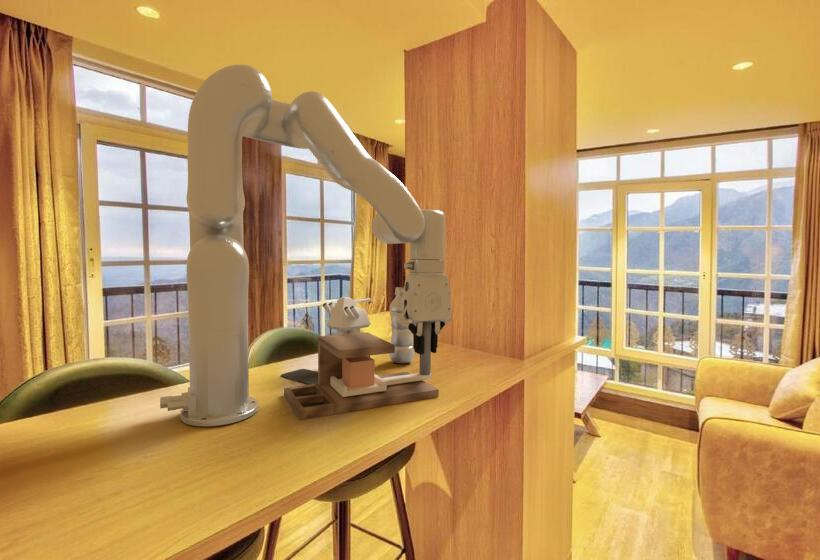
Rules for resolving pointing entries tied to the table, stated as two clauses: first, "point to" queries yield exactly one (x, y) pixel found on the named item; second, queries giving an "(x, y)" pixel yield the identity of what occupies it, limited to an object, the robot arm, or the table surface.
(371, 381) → the block
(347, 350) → the desk organizer
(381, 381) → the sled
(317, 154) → the robot arm
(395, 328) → the plastic bottle
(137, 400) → the table surface
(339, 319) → the white mech figurine
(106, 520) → the table surface
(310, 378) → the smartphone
